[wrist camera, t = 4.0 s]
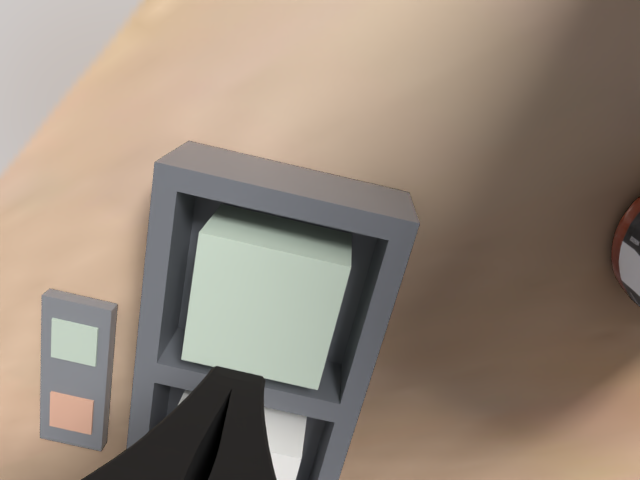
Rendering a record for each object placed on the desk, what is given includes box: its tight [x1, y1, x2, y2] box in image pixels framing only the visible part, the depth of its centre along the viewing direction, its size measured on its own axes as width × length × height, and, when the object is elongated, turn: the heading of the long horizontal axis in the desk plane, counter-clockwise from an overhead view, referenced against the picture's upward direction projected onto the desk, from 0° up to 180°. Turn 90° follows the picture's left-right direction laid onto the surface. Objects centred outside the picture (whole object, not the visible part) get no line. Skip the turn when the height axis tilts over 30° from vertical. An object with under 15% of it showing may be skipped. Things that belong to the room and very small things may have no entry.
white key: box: [178, 390, 307, 480], centre depth 21 cm, size 5×5×3 cm
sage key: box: [181, 204, 352, 390], centre depth 19 cm, size 5×5×3 cm
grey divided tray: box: [127, 141, 420, 480], centre depth 22 cm, size 9×24×4 cm, turn 167°
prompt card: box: [40, 289, 118, 451], centre depth 23 cm, size 3×8×1 cm, turn 167°
